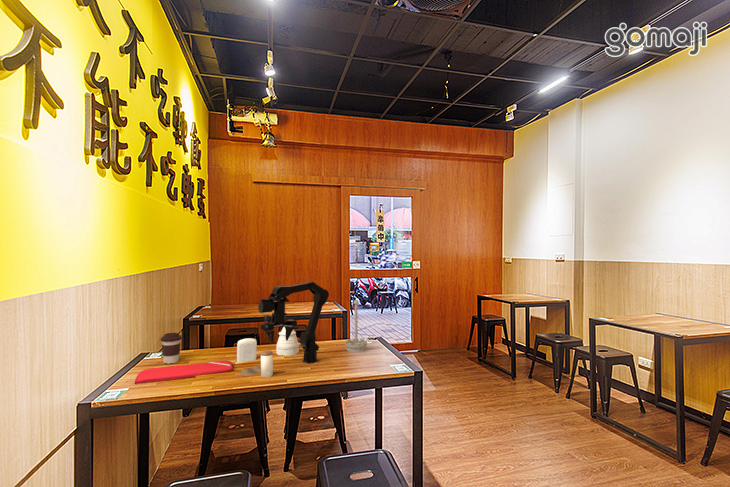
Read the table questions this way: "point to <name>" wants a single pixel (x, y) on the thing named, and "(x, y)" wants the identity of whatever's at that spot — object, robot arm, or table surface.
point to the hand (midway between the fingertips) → (279, 342)
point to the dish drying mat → (183, 371)
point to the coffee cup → (171, 347)
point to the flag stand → (355, 344)
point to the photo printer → (246, 350)
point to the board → (250, 371)
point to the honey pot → (287, 344)
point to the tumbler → (266, 363)
